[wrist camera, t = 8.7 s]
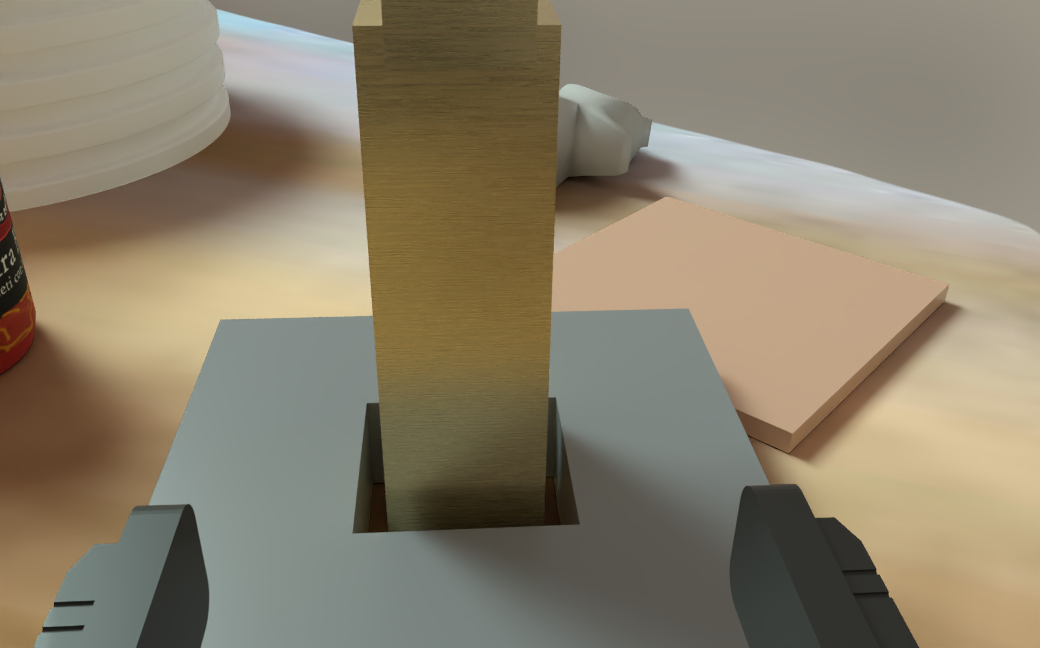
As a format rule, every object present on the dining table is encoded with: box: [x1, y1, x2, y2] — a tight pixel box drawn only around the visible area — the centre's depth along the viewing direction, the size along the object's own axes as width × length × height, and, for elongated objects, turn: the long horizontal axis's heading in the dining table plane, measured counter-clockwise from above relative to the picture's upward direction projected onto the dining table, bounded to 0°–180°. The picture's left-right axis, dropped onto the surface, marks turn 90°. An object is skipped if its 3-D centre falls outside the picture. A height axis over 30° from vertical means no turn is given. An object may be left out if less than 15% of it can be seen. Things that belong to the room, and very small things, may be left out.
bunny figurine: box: [556, 84, 652, 187], centre depth 51 cm, size 10×5×15 cm
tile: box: [551, 196, 949, 453], centre depth 40 cm, size 14×14×1 cm
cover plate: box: [149, 308, 770, 648], centre depth 27 cm, size 16×16×3 cm
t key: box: [352, 0, 561, 532], centre depth 23 cm, size 10×4×18 cm, turn 4°
